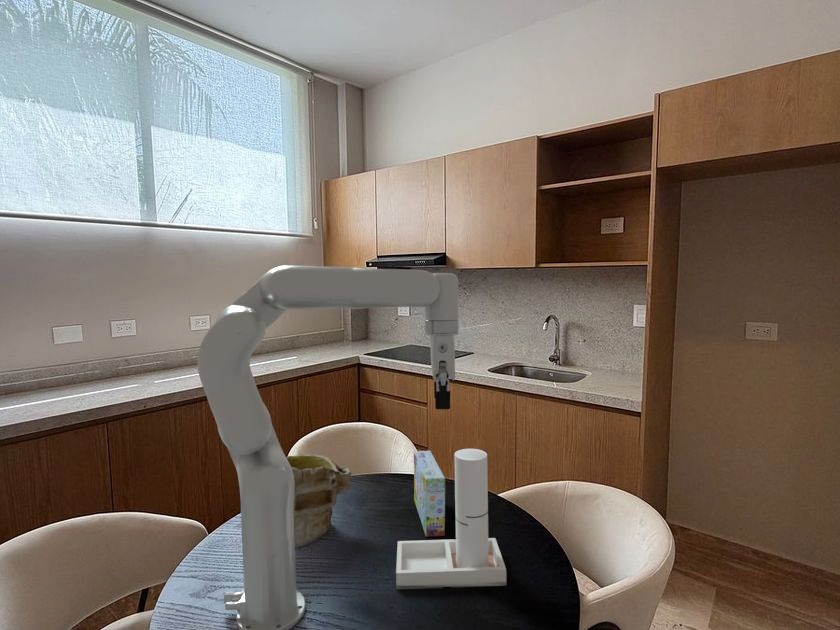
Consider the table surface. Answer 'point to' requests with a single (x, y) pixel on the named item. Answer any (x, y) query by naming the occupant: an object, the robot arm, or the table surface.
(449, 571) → the two-bay tray
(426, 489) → the snack box
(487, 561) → the cylindrical container
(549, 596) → the table surface
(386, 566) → the table surface
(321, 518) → the ceramic vessel
